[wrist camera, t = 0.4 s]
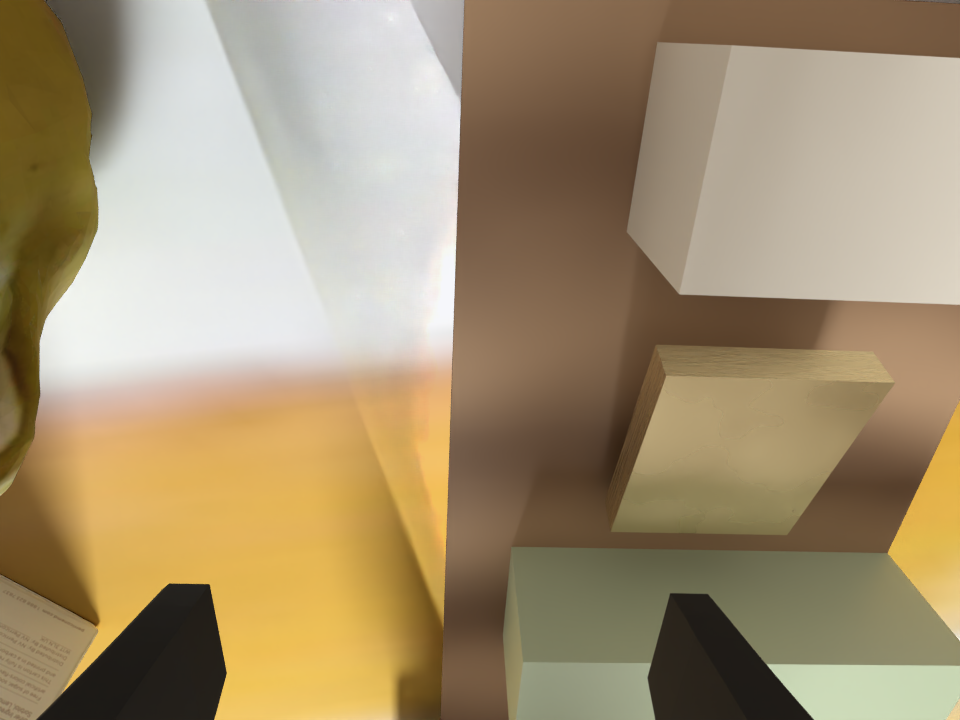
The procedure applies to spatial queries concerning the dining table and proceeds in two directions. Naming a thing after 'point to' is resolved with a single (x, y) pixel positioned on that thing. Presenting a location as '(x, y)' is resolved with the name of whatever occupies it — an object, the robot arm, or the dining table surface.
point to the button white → (801, 174)
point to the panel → (631, 301)
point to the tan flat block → (738, 437)
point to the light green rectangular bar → (753, 611)
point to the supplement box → (36, 650)
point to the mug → (37, 204)
